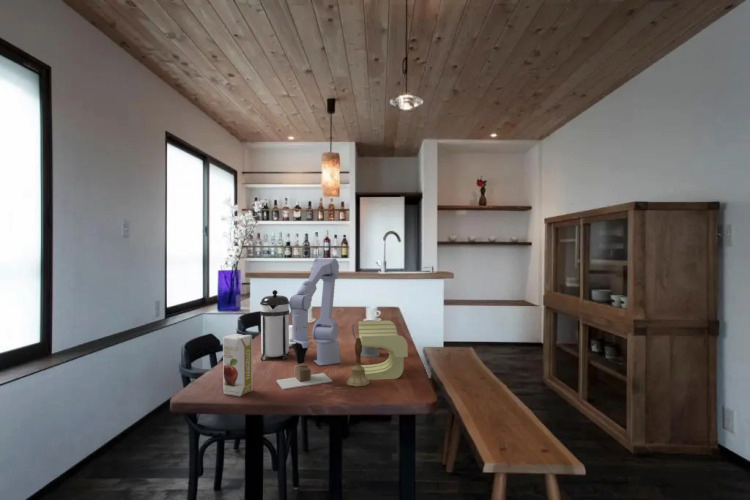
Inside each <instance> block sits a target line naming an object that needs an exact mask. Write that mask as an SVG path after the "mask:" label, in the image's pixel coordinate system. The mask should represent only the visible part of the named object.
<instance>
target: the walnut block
mask: <svg viewBox="0 0 750 500" xmlns="http://www.w3.org/2000/svg"><path fill="white" fill-rule="evenodd" d="M311 373H312V372H311V368H310V367H308V365H306V364H298V365H294V377H295V378H296V379H297V380H298V381H299V382H304V381H310V380H311V375H312V374H311Z"/></svg>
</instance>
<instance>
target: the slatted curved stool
mask: <svg viewBox="0 0 750 500" xmlns="http://www.w3.org/2000/svg"><path fill="white" fill-rule="evenodd" d="M357 323H358V324H357V326H358V327H357V328H358V336H359V337H358V338H360V339H361V345H362V347H378V348H379V349H383V350H385V351H387V352H388V358H387V359H386V360H385V361H383V362H380V363H374V364H373V363H372V364H361V366H362V367H364V370H365V375H366V377H367V379H368V380H369V381H373V380H374V381H375V380H396V379H398V378H400V377H401V376H402V374H403V372H404V364H405V362H404V361H405V358H409V353H408V352H409V351H408V350H409V349H408V347H409V344H408V342H407V339H405V337H404V336H402V335H399V334H398V330H397V326H396V324H395V323H394V322H393V321H391V320H389V319H388V320H374V321H367V320H359V321H358V322H357Z"/></svg>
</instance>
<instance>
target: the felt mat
mask: <svg viewBox="0 0 750 500" xmlns="http://www.w3.org/2000/svg"><path fill="white" fill-rule="evenodd" d="M275 381H276V383H277V384H278V385H279V387H280V388H281V390H290V389H295V388H301V387H308V386H314V385H315V386H316V385H320V384H327V383H332V382H333V380H332V379H331V377H329V376H327V375H326V373H324V372H321V373H315V374H311V380H310V381H304V382H299V381H298V380H297V379H296V378H295V376H294V377H288V378H280V379H276V380H275Z"/></svg>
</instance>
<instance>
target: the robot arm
mask: <svg viewBox="0 0 750 500" xmlns="http://www.w3.org/2000/svg"><path fill="white" fill-rule="evenodd" d="M311 268H312V270H311V273H310V275H309V277H308V279H307V280H305V281H303V282H302V285H300V288H299V289H298V290H297V292H296V294H294V295H292V296H291V297H290V299H289V301H290V303H289V310H290V314H291V315H292V318H291V319H292V338H289V343H290V342H291V343H292V344H291V347H292V348H293V351H294V355H295V359H296V363H297V364H298V365H303V364H305V359H306V355H307V351H308V349H309V348H310V344H309V340H310V339H309V309H310V308H311V306H312V301H313V296H314V295H315V292H316V291H317V284H318V282H319V281H320V280H322V281H323V282H322V293H321V303H320V304H321V305H320V313H319V314H320V316H319V318H318V319H316V321H315V322H314V323H313V324H314V325H313V328H312V333H311V335H312V338H313V340H314V342H315V343H316V359H314V360H313V362H314V363H315V364H317V365H318V366H327V365H335V364H341V362H342V361H341V346H340V342H339V340H337V339H338V337H339V330H338V329H339V328H338V327H339V326H338V324H339V323H337V321H335V320H334V319H333V309H334V297H335V285H336V284H335V283H336V280H337V279H338V278H339V269H340V264H339V262H338V259H337V258H315V259H314V260H313V262H312V267H311Z"/></svg>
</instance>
